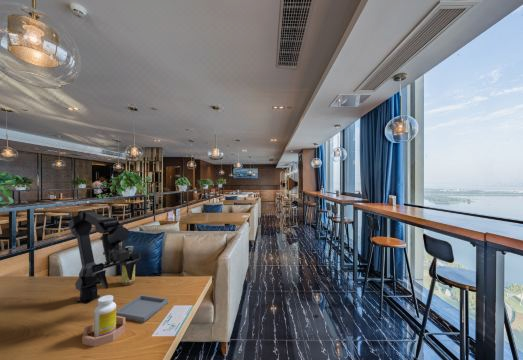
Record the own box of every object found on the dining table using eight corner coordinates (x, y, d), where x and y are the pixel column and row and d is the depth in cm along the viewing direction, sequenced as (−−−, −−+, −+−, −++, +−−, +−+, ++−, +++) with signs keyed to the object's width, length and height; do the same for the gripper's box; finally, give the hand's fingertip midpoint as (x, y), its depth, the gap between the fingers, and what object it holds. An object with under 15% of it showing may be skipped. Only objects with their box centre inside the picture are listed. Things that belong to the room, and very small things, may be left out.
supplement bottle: (120, 329, 84) (120, 295, 84) (102, 341, 78) (103, 304, 78) (107, 325, 86) (108, 292, 86) (89, 337, 80) (89, 301, 80)
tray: (114, 317, 92) (114, 312, 92) (141, 298, 106) (141, 294, 106) (144, 322, 88) (144, 317, 88) (168, 303, 102) (168, 298, 102)
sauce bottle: (128, 286, 118) (129, 249, 118) (118, 285, 119) (119, 248, 119) (137, 281, 124) (138, 245, 124) (128, 280, 125) (128, 244, 125)
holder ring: (73, 342, 77) (74, 334, 77) (106, 320, 89) (107, 313, 89) (103, 348, 74) (103, 341, 74) (133, 325, 87) (133, 318, 87)
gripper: (95, 247, 84) (103, 290, 80) (143, 237, 100) (151, 272, 96) (82, 255, 89) (89, 295, 85) (130, 243, 105) (137, 277, 101)
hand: (119, 284), depth 92 cm, fingers open, 9 cm apart
